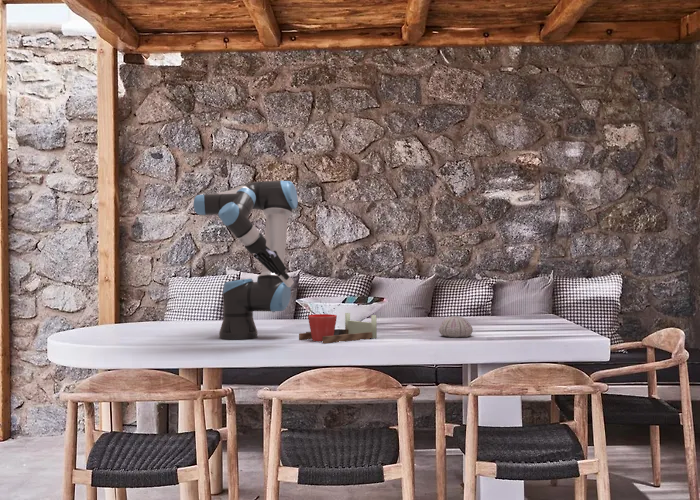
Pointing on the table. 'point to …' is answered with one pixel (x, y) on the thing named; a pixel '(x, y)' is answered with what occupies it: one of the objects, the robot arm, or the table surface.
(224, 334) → the robot arm
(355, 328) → the sage end wall
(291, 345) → the table surface
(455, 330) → the sea urchin shell
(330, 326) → the flower pot
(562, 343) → the table surface
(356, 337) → the walnut trap lane
